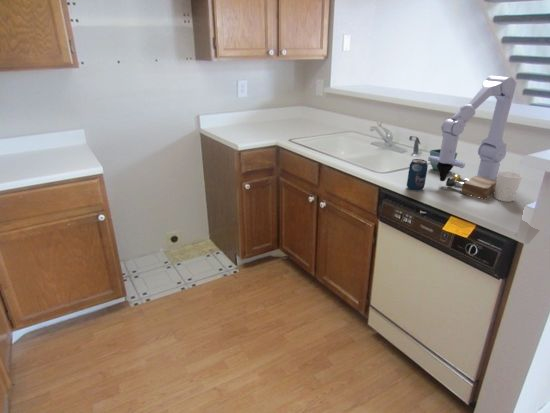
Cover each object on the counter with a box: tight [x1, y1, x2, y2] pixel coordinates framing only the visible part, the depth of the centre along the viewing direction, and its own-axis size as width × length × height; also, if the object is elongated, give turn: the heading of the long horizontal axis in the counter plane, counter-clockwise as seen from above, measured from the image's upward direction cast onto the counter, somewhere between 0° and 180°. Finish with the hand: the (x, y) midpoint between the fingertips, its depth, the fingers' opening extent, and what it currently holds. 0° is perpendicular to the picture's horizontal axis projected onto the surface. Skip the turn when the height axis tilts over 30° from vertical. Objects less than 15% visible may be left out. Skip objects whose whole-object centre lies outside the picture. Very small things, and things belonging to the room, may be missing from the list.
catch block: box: [460, 175, 497, 200], centre depth 154 cm, size 13×9×4 cm
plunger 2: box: [452, 174, 470, 183], centre depth 161 cm, size 4×10×4 cm, turn 44°
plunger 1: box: [445, 177, 463, 189], centre depth 157 cm, size 4×10×4 cm, turn 44°
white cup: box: [493, 170, 523, 203], centre depth 147 cm, size 8×8×10 cm
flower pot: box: [429, 148, 458, 172], centre depth 181 cm, size 9×9×9 cm
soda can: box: [406, 158, 429, 192], centre depth 156 cm, size 7×7×12 cm
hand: (442, 180), depth 162 cm, fingers closed
